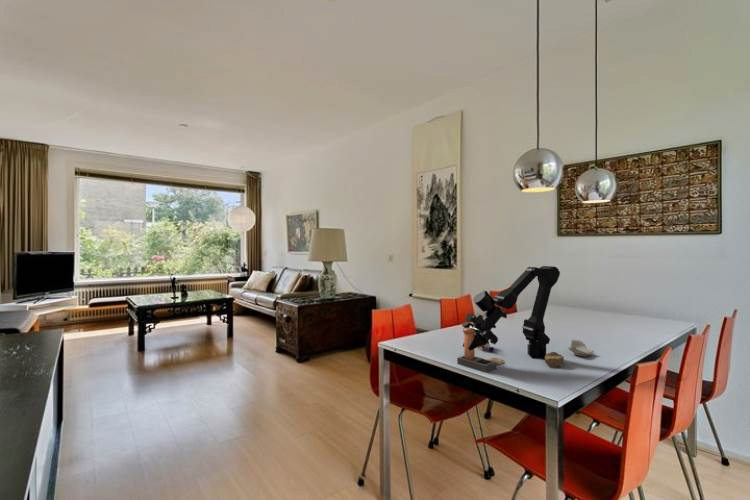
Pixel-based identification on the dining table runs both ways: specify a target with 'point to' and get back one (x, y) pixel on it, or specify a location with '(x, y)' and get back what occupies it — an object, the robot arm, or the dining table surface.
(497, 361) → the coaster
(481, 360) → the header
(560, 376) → the dining table surface
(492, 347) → the toy
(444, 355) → the dining table surface
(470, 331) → the plug
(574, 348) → the pottery shard
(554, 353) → the stone
